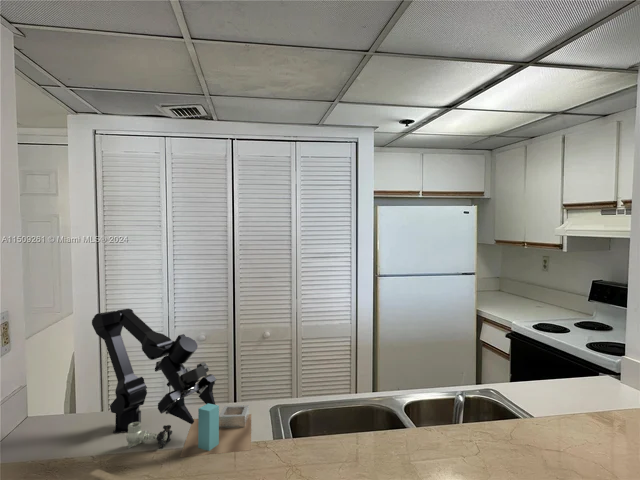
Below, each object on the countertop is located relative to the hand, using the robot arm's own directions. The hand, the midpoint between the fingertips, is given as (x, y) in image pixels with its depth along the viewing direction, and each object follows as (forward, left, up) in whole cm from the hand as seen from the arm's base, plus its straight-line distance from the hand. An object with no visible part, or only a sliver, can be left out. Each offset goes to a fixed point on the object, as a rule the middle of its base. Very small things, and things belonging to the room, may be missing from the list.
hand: (204, 416), depth 106 cm
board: (+4, +6, -9) cm, 12 cm away
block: (+1, -1, -8) cm, 8 cm away
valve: (-17, +4, -10) cm, 20 cm away
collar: (+8, +13, -8) cm, 17 cm away
